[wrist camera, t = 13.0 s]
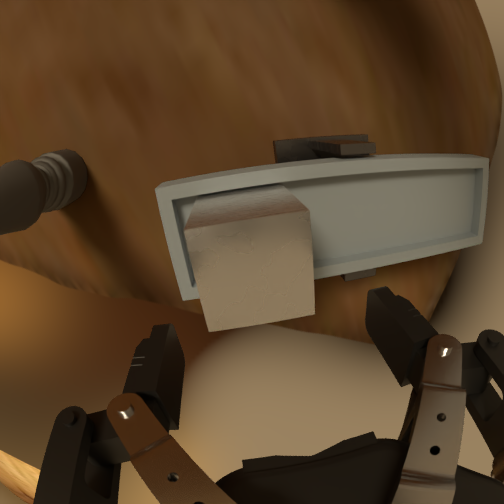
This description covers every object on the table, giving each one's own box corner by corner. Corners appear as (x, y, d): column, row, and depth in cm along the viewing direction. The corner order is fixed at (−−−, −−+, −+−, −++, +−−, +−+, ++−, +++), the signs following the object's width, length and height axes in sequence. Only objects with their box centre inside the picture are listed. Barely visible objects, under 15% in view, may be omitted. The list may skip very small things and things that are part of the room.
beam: (162, 182, 22) (154, 188, 19) (471, 154, 23) (488, 158, 20) (186, 284, 25) (182, 300, 23) (466, 234, 26) (481, 243, 24)
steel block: (198, 195, 21) (183, 230, 14) (279, 182, 21) (309, 210, 14) (212, 269, 23) (209, 331, 16) (287, 257, 23) (314, 314, 16)
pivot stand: (272, 140, 28) (294, 144, 20) (362, 134, 28) (410, 138, 20) (285, 250, 33) (306, 292, 24) (366, 236, 33) (406, 270, 25)
